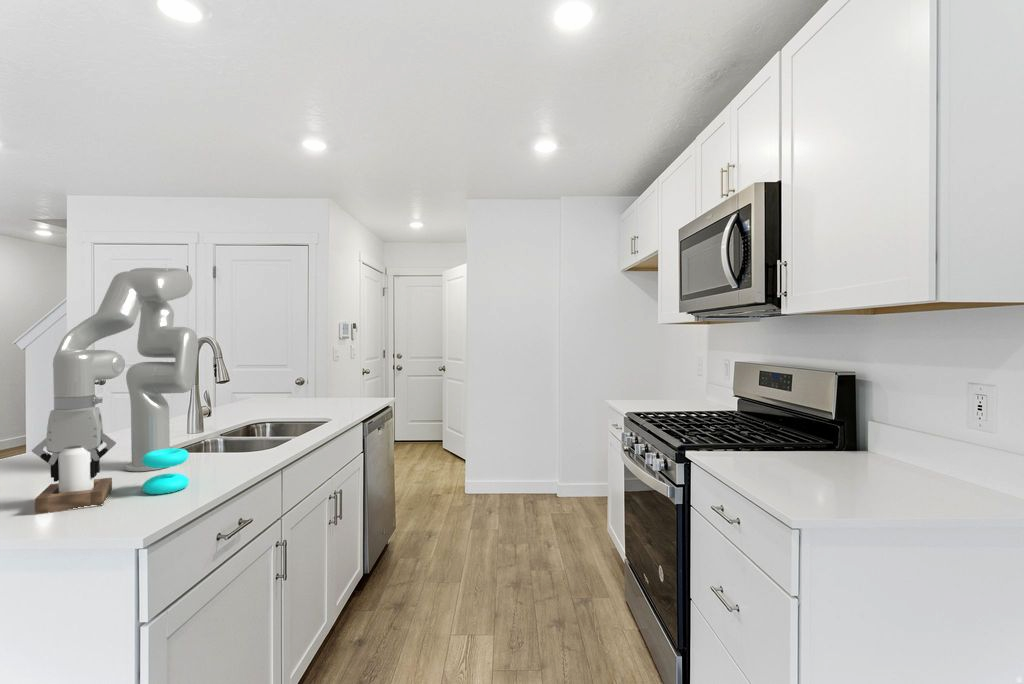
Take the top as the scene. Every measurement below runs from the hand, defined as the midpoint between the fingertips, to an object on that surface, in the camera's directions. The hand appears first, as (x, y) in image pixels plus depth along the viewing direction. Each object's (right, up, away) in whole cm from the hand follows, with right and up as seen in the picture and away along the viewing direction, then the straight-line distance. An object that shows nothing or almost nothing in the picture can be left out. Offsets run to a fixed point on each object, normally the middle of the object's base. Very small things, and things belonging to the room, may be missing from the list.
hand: (75, 477), depth 124 cm
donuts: (+15, -6, +10) cm, 19 cm away
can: (0, -4, 0) cm, 4 cm away
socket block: (0, -6, 0) cm, 6 cm away
